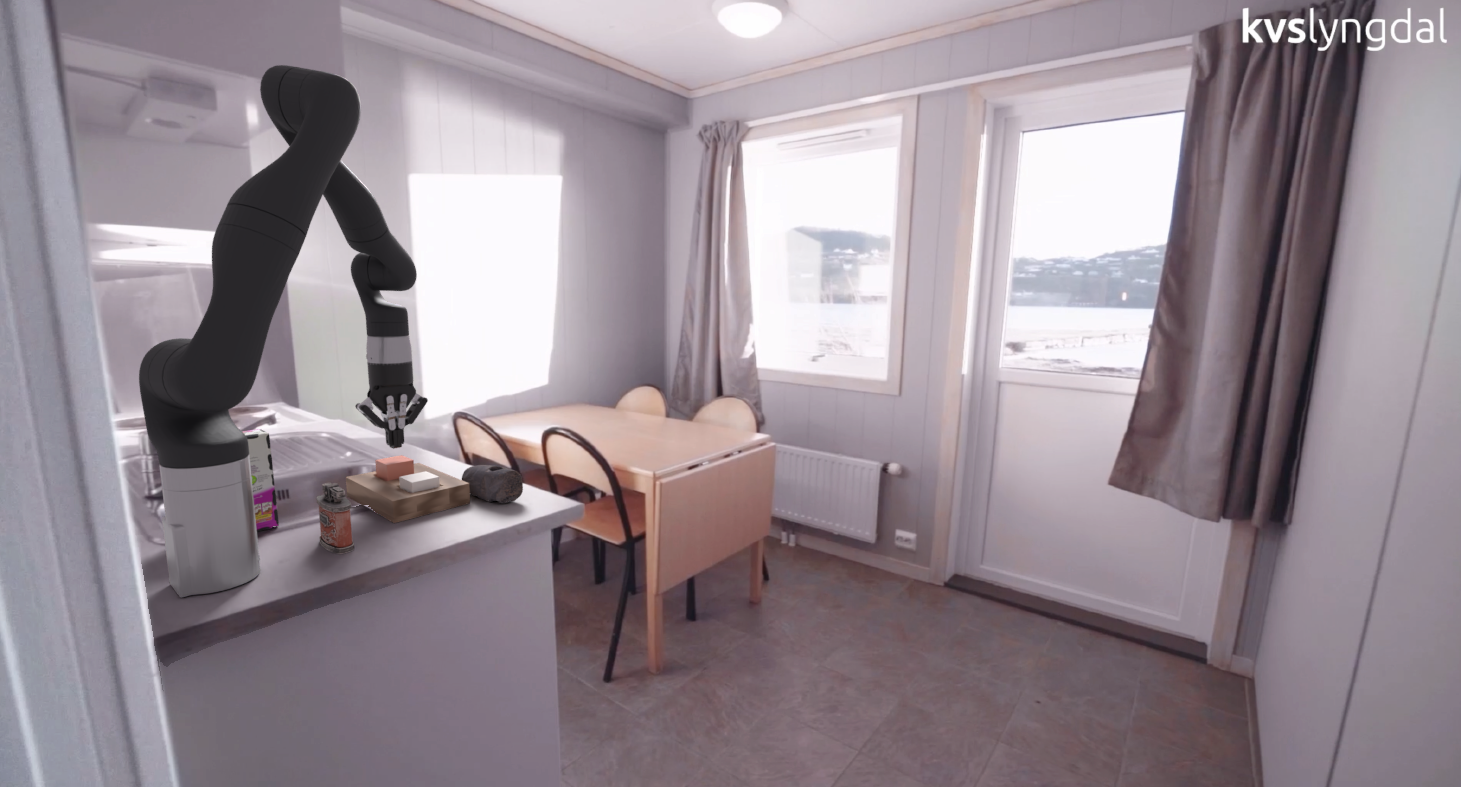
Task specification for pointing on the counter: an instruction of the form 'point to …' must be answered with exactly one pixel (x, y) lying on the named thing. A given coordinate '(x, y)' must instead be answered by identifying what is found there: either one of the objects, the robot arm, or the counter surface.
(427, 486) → the key white
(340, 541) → the lighter
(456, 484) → the frame
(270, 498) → the candy bar box
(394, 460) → the salmon pink block
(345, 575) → the counter surface
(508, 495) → the perforated stone tool
